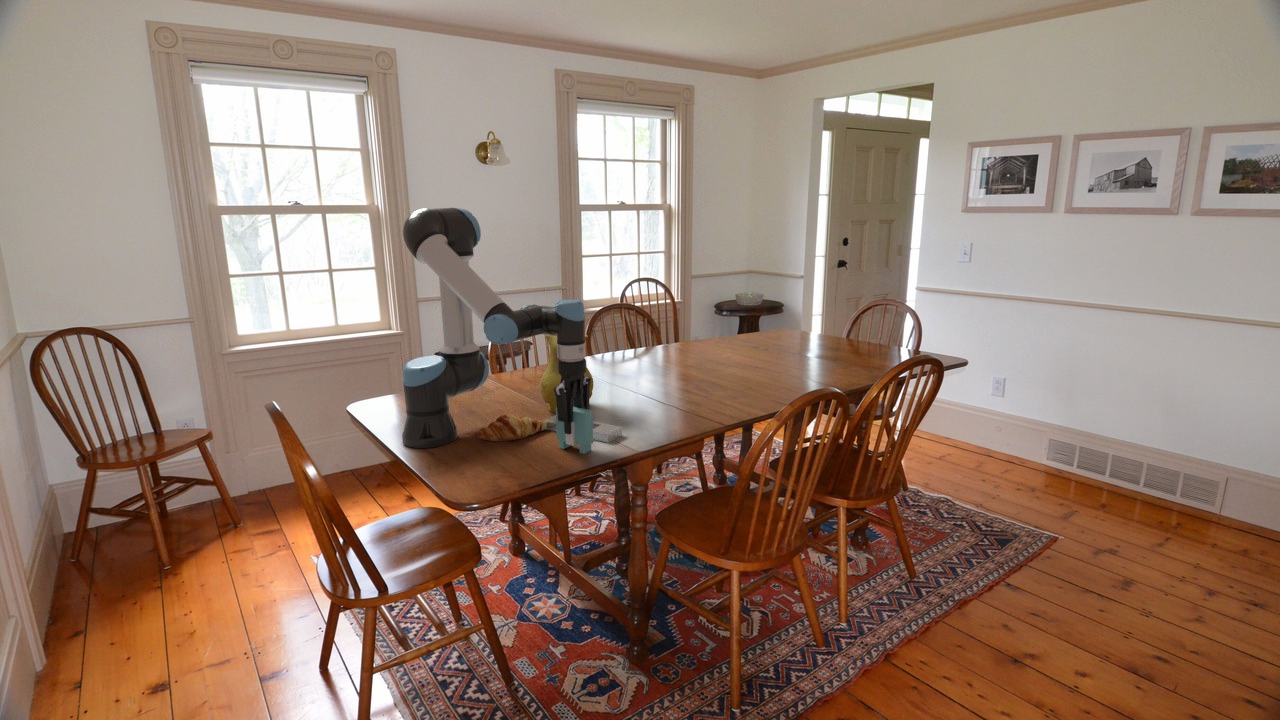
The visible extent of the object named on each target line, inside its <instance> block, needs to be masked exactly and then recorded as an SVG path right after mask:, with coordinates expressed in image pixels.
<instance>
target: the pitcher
mask: <svg viewBox="0 0 1280 720" xmlns="http://www.w3.org/2000/svg"><path fill="white" fill-rule="evenodd" d="M588 338H589V336H588V335H587V334H585V342H586V341H587V340H588ZM545 339H546V340H547V342H548V346H549V360H548V363H547V366H546V369H545V370H544V372H543V373H542V376H541V380H540V393H541V397H542V398H543V401H544V402H545V403H546V404H547V403H548V405H549V407H547V411H549V412H552V413H554V414H556V407H557V403H556V395H555V392H554V387H558V386H559V385H560V381H561V375H560V374H559V373H558V360H559V358H558V357H557V335H547V334H545ZM584 376H585V377H588V378H591V382H590V392H589V400H590V399H591V398H592V396H593V389H594V378H593V376H592V373H591V372H590V369H588V367H587V366H586V372H585V373H584ZM568 394H569V393H568ZM573 407H575V406H574V403H573ZM584 408H585V407H584Z"/></svg>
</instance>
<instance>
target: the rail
mask: <svg viewBox="0 0 1280 720" xmlns="http://www.w3.org/2000/svg"><path fill="white" fill-rule="evenodd" d="M541 421H542V422H546V423H547V426H546V428H545V429H544V430H548V431H552V432H556V433H557V427H556V414H554V415H552V416H550V417H548V418H546V419H542V420H541ZM622 429H623V427H622V426H618V425H612V424H608V423H602V422H597V421H593V441H598V442H602V443H608V444H609V443H611V442H612V441H615V440H617V439H618V438H621V437H622V436H623V430H622Z"/></svg>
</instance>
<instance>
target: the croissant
mask: <svg viewBox="0 0 1280 720" xmlns="http://www.w3.org/2000/svg"><path fill="white" fill-rule="evenodd" d="M542 421H543V420H540V419H538V418H535V419H533V418H529V417H528V416H526V415H523V416H518V417H517V416H515V414H503V415H499V416H498V417H497V418H496V420H495V421H491V422H490V423H489V425H488V426H485V427H481V428H480V429H479V430H477V431H474V432H475V433H474V434H475V437H476V438H478V439H481V440H487V441H489V442H506V441H507V442H508V441H509V442H510V441H512V440H520V439H524V438H527V437H529V436H533V435H534V434H536V433H539V432H542V431H543V430H546V429H545V428H546V426H547V423H546V422H542Z"/></svg>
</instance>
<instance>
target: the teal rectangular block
mask: <svg viewBox="0 0 1280 720" xmlns="http://www.w3.org/2000/svg"><path fill="white" fill-rule="evenodd" d="M555 415H556V427H557V432H556V440H557V441H558V443H559V445H558V446H559V449H562V450H565V449H567V448H569V447H571V446H572V445H569V444H566V437H565V432H564V422H561V421H558V413H557V407H556V413H555ZM572 422H574V423H575V445H579V447H578V448H579V453H580V454H583V455H585V454H586V453H589V452H591V451H592V444H594V440H593V422H594V421H593V410H591V409H589V410H588V409H583V408H577V407H573V418H572Z"/></svg>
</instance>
